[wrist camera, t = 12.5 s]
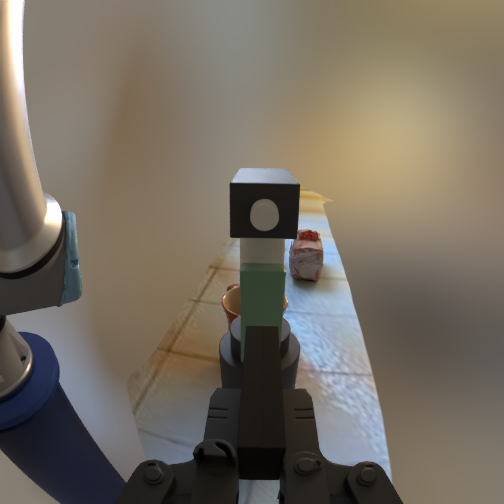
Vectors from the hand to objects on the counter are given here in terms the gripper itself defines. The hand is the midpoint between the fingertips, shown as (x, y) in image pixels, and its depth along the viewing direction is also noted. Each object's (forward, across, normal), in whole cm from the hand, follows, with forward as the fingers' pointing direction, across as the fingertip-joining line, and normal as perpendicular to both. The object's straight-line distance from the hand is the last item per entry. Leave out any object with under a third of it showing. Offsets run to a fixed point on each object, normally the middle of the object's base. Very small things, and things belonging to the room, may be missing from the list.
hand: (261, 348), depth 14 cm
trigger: (+5, 0, -5) cm, 7 cm away
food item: (+54, +11, -22) cm, 59 cm away
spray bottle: (+8, 0, -21) cm, 23 cm away
